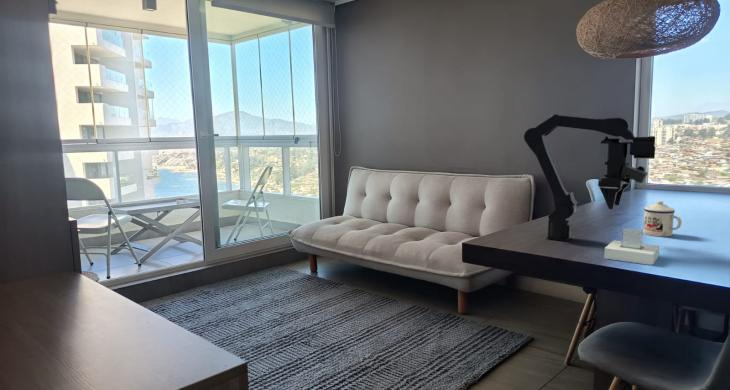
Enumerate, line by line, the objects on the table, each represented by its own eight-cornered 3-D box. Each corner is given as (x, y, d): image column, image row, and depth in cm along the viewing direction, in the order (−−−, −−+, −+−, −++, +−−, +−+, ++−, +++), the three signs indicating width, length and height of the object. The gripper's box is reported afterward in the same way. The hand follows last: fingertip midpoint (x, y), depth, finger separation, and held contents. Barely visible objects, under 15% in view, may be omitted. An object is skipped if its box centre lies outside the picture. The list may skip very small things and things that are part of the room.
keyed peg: (638, 259, 134) (640, 231, 133) (620, 256, 137) (622, 229, 136) (641, 257, 137) (642, 229, 136) (623, 254, 140) (624, 228, 138)
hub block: (604, 258, 136) (604, 248, 135) (613, 249, 145) (613, 240, 145) (652, 265, 128) (653, 254, 128) (658, 255, 138) (659, 245, 137)
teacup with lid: (636, 233, 167) (639, 200, 166) (652, 230, 172) (654, 198, 170) (671, 239, 157) (674, 205, 155) (687, 236, 161) (690, 202, 159)
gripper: (641, 160, 137) (637, 213, 139) (650, 157, 151) (647, 205, 153) (599, 159, 143) (596, 210, 146) (612, 156, 158) (609, 202, 160)
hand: (613, 207), depth 151 cm, fingers open, 9 cm apart
